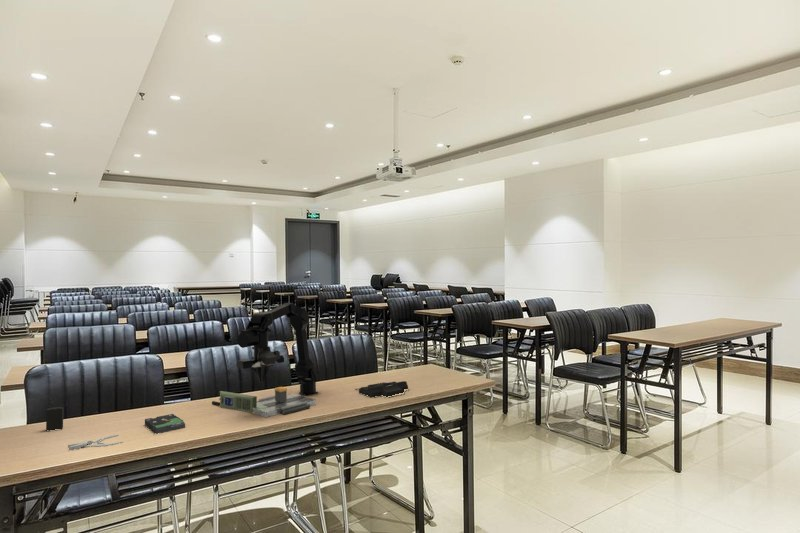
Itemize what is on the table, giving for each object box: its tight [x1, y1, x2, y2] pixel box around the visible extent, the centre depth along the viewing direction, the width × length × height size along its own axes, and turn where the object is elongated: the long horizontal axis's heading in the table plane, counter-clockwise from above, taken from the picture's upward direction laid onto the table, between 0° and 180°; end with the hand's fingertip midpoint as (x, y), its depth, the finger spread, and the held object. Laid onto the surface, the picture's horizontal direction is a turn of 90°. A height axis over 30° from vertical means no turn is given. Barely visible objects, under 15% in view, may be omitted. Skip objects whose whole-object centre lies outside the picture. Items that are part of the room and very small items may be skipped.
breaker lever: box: [274, 386, 288, 403], centre depth 205 cm, size 3×4×6 cm
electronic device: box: [355, 380, 409, 398], centre depth 232 cm, size 21×30×5 cm
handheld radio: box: [211, 390, 258, 414], centre depth 205 cm, size 7×3×25 cm
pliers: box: [67, 434, 124, 451], centre depth 164 cm, size 10×2×15 cm
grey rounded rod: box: [257, 395, 275, 402], centre depth 212 cm, size 13×4×3 cm, turn 136°
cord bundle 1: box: [279, 401, 311, 416], centre depth 199 cm, size 13×4×3 cm, turn 136°
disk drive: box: [144, 413, 186, 435], centre depth 182 cm, size 10×3×15 cm
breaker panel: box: [253, 393, 317, 418], centre depth 205 cm, size 24×16×2 cm, turn 136°
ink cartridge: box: [45, 406, 64, 432], centre depth 180 cm, size 5×2×8 cm, turn 119°
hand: (261, 382), depth 199 cm, fingers closed
